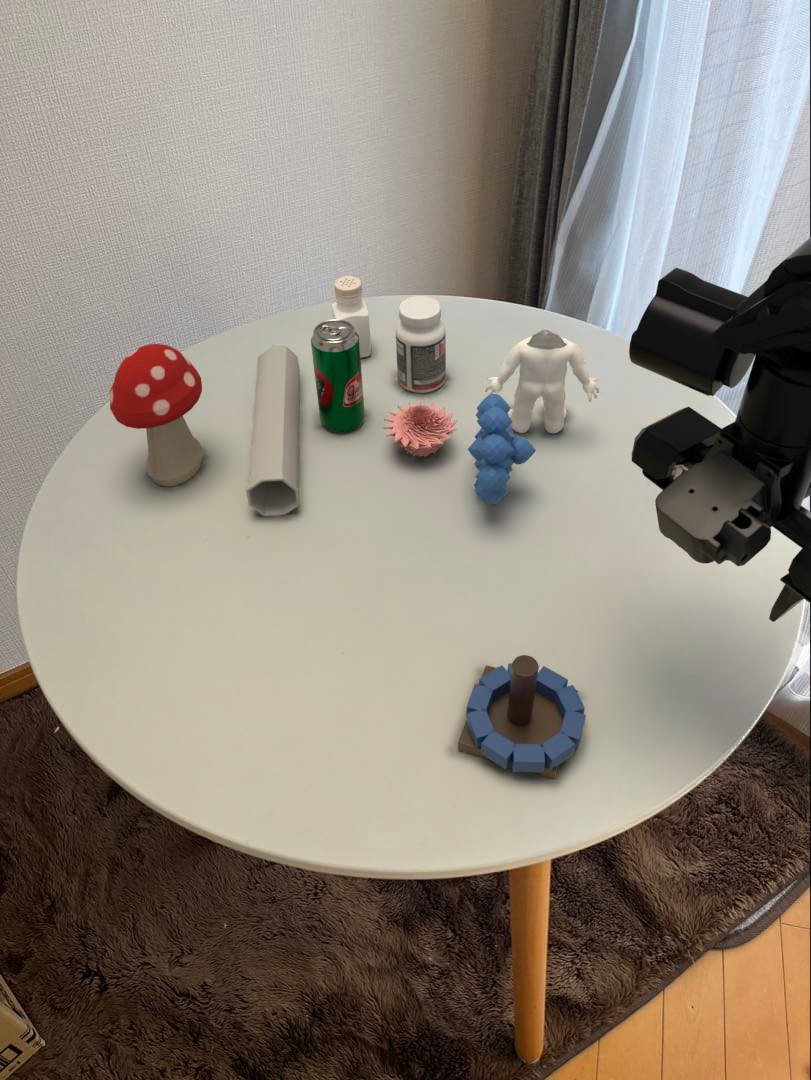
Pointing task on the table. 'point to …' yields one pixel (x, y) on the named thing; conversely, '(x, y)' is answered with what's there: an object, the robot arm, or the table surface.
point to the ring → (525, 754)
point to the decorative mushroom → (160, 409)
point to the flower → (421, 428)
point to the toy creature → (542, 378)
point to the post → (520, 712)
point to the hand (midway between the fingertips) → (727, 579)
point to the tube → (275, 434)
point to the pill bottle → (420, 345)
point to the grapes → (496, 449)
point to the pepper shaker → (353, 309)
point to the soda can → (338, 375)
